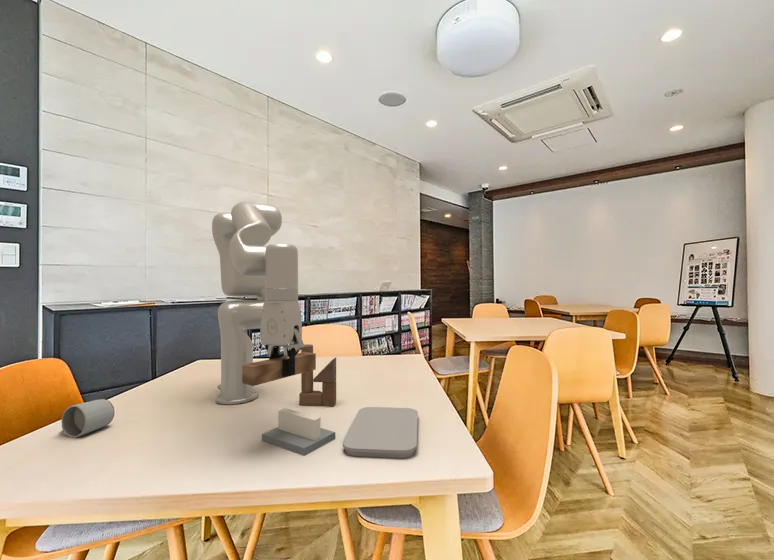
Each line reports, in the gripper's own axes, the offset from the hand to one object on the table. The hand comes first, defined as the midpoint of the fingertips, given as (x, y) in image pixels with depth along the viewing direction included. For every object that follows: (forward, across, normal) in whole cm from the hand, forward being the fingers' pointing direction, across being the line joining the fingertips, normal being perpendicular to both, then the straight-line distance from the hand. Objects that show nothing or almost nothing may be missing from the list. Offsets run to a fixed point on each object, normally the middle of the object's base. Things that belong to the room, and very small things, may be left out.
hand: (282, 373), depth 84 cm
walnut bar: (+1, 0, 0) cm, 1 cm away
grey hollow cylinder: (+16, -46, -24) cm, 54 cm away
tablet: (+16, +17, +17) cm, 29 cm away
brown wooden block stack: (+16, -12, +23) cm, 30 cm away
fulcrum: (+16, +3, +3) cm, 16 cm away
